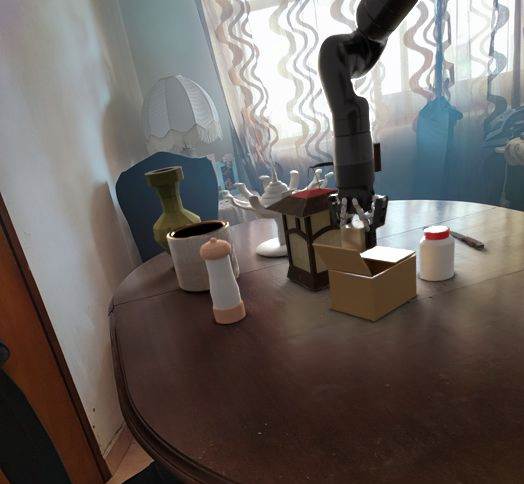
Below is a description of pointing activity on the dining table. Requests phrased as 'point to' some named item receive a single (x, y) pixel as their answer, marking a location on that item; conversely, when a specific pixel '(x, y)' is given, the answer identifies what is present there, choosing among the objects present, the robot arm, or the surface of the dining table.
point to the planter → (197, 252)
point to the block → (354, 236)
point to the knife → (466, 239)
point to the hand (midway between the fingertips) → (359, 246)
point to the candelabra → (272, 195)
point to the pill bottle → (436, 254)
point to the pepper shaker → (222, 282)
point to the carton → (375, 283)
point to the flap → (342, 259)
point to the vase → (169, 204)
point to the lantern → (311, 230)
